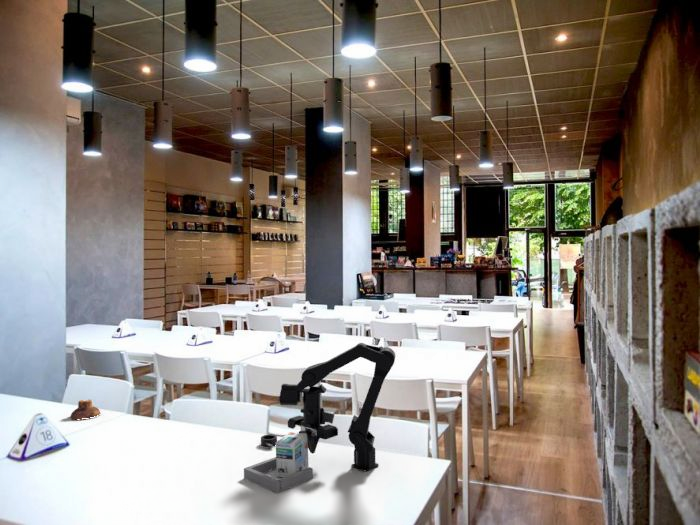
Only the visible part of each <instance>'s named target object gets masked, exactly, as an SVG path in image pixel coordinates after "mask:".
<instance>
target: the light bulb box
mask: <svg viewBox="0 0 700 525" xmlns="http://www.w3.org/2000/svg"><path fill="white" fill-rule="evenodd" d="M275 457H276V464H277V468H276V477H277V478H278V477H279V478H284V477H286V476H289V475H291V474H294V473H296V472H299V471H301V470H304V469H306V468H309V467H310V466H309V449H308V437H307V434H304V433H299V432H294V431H293V432H290V431H289V432H288V433H286V434H285V435H284V436H282V437H280V438H279V440H278V439H277V442H276V446H275Z"/></svg>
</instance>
